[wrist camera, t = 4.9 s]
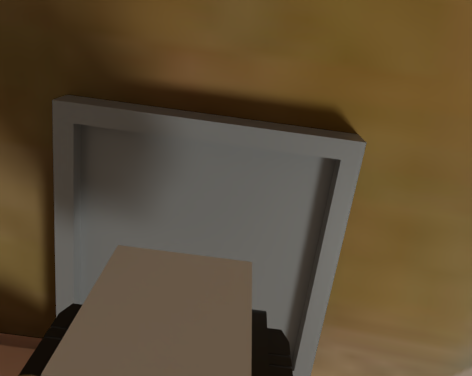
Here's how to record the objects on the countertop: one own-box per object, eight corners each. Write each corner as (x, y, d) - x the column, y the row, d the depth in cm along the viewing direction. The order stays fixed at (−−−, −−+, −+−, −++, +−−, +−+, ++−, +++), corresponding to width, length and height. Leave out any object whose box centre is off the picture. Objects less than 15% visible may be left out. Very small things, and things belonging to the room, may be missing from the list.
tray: (67, 94, 18) (52, 99, 16) (358, 134, 18) (366, 142, 16) (68, 334, 22) (56, 353, 20) (304, 365, 22) (307, 386, 21)
